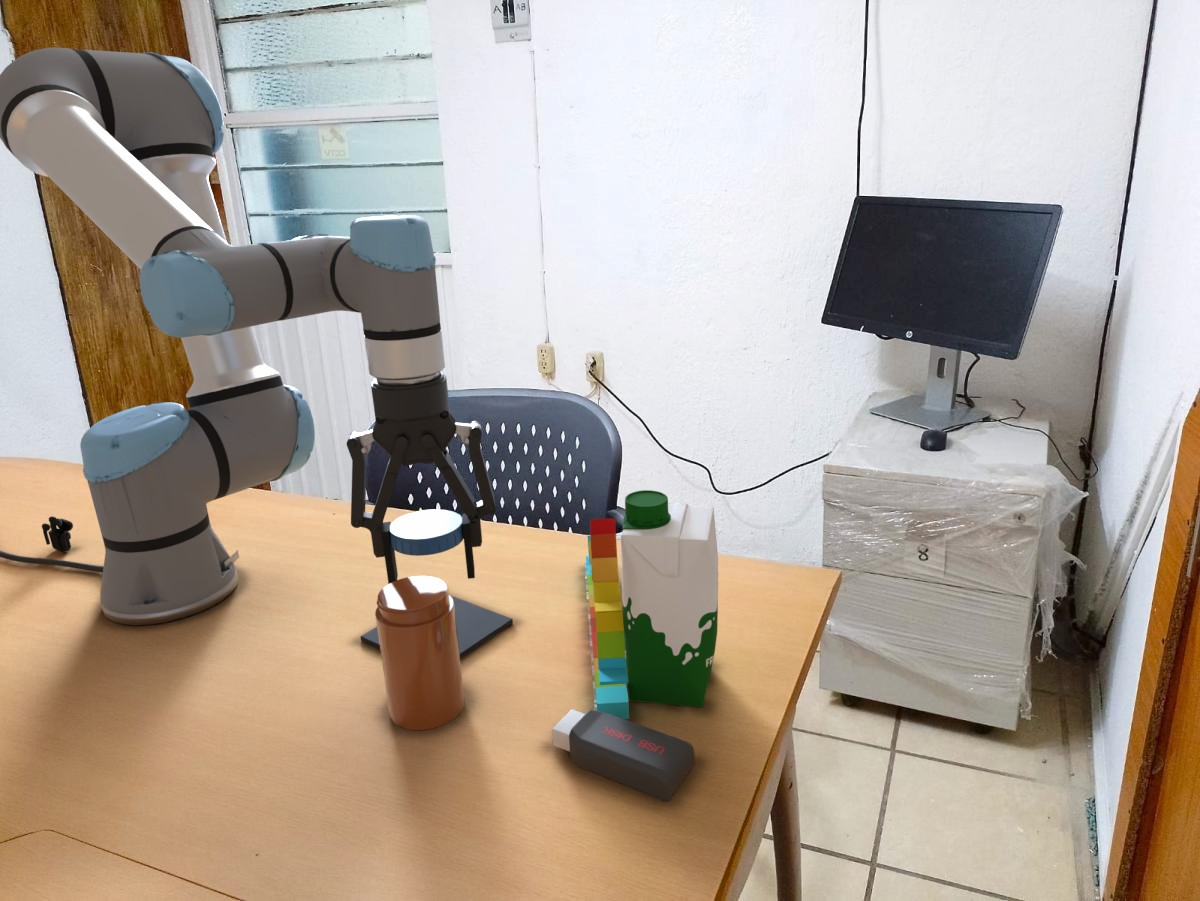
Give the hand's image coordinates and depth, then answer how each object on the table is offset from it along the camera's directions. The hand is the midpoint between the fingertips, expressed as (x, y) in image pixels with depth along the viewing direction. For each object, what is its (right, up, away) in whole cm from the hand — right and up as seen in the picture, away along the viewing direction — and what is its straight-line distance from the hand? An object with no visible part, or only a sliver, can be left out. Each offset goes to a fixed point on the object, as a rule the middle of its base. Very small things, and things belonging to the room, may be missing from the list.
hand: (432, 576), depth 91 cm
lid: (0, +6, -2) cm, 6 cm away
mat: (0, -7, +3) cm, 7 cm away
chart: (+19, -7, +1) cm, 20 cm away
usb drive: (+20, -13, -18) cm, 30 cm away
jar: (+2, -11, -10) cm, 15 cm away
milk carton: (+26, -10, -8) cm, 28 cm away
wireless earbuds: (-57, 0, +27) cm, 63 cm away
